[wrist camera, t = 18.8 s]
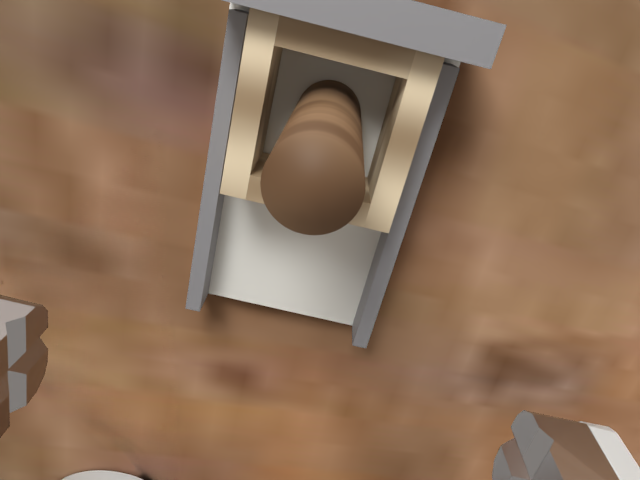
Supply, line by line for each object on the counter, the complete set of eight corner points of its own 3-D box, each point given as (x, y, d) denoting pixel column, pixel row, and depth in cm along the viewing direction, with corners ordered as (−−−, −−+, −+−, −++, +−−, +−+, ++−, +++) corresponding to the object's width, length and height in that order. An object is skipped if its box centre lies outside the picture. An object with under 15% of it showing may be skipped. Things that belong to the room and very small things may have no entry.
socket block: (382, 203, 34) (388, 233, 30) (236, 168, 34) (219, 193, 29) (430, 49, 30) (445, 56, 26) (264, 6, 30) (249, 6, 25)
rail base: (370, 318, 40) (376, 388, 33) (193, 279, 39) (159, 340, 32) (468, 21, 31) (506, 25, 24) (241, -39, 30) (208, -54, 23)
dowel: (352, 150, 33) (351, 244, 20) (291, 136, 33) (253, 223, 20) (367, 87, 31) (377, 148, 19) (303, 73, 31) (269, 124, 18)
